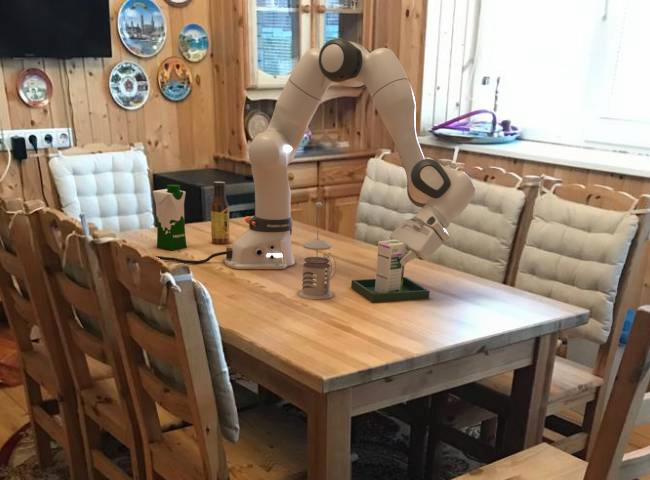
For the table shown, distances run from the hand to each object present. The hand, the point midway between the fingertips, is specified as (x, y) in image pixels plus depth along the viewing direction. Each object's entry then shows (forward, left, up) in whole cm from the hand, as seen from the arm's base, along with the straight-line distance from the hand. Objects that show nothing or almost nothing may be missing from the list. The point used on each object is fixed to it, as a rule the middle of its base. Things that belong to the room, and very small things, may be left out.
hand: (394, 260), depth 230 cm
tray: (0, +1, -10) cm, 10 cm away
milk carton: (-49, +70, -10) cm, 86 cm away
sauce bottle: (-31, +74, -10) cm, 81 cm away
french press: (-21, +4, -10) cm, 24 cm away
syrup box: (-1, 0, -9) cm, 9 cm away
